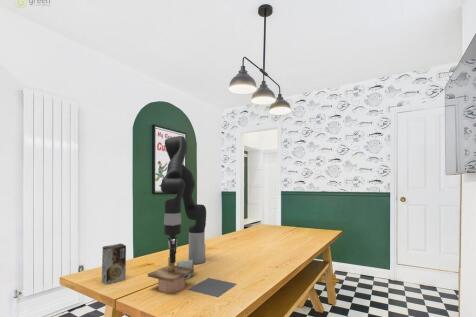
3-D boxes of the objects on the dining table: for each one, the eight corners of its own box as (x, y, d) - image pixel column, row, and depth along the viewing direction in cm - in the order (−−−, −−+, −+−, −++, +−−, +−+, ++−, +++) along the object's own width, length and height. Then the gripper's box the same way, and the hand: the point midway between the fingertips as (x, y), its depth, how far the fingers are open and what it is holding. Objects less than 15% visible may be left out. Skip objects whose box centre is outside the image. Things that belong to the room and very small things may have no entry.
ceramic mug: (177, 274, 137) (177, 258, 137) (193, 273, 137) (193, 258, 138) (174, 282, 126) (175, 265, 127) (192, 281, 127) (192, 264, 127)
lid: (170, 267, 128) (170, 251, 129) (193, 272, 122) (193, 255, 122) (147, 276, 116) (148, 259, 117) (172, 282, 109) (172, 264, 110)
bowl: (170, 281, 126) (170, 268, 126) (189, 286, 121) (189, 272, 121) (152, 290, 116) (153, 276, 117) (171, 295, 111) (172, 280, 111)
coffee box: (120, 276, 134) (121, 243, 135) (125, 279, 129) (126, 245, 130) (100, 281, 127) (102, 246, 129) (105, 284, 123) (107, 248, 124)
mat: (208, 279, 129) (208, 277, 129) (237, 285, 122) (237, 283, 122) (186, 291, 115) (186, 289, 115) (218, 298, 108) (218, 297, 108)
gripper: (163, 221, 126) (163, 256, 125) (164, 226, 113) (163, 265, 112) (180, 220, 129) (179, 254, 127) (182, 225, 115) (182, 264, 114)
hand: (172, 260), depth 119 cm, fingers open, 8 cm apart
